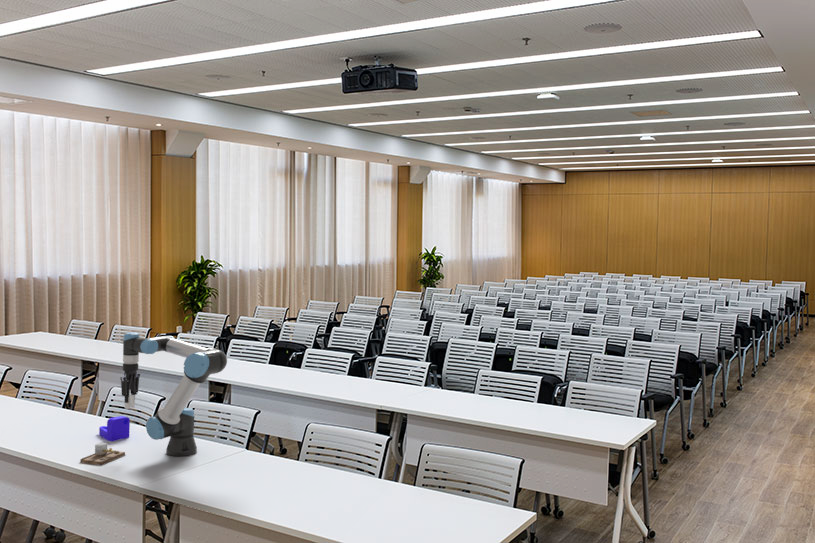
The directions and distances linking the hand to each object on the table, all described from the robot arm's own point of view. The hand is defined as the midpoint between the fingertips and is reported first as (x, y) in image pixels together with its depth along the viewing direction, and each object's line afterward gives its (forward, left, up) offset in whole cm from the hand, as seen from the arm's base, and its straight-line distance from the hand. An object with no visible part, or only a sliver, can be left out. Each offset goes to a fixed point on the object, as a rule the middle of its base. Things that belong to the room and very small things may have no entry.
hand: (129, 407), depth 372 cm
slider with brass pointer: (+2, +15, -21) cm, 26 cm away
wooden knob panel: (+3, +16, -23) cm, 28 cm away
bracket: (+26, -20, -23) cm, 40 cm away
